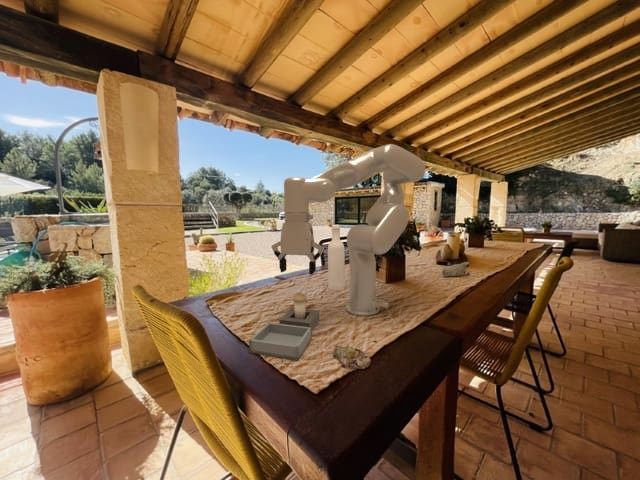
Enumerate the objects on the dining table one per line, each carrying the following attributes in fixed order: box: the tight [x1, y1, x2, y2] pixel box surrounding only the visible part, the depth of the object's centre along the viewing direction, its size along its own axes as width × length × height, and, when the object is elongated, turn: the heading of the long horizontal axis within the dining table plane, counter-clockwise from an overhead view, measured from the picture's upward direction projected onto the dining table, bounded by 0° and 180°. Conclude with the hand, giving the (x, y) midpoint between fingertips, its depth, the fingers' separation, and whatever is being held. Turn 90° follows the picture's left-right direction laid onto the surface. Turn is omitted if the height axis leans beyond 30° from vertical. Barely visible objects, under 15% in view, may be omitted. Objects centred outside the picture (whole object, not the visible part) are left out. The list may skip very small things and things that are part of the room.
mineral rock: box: [332, 345, 372, 371], centre depth 65 cm, size 11×4×8 cm
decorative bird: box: [441, 261, 471, 278], centre depth 138 cm, size 5×16×8 cm, turn 106°
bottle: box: [327, 224, 346, 292], centre depth 120 cm, size 8×8×30 cm
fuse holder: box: [278, 307, 320, 331], centre depth 84 cm, size 10×10×4 cm
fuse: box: [292, 293, 307, 319], centre depth 84 cm, size 4×4×10 cm
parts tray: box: [248, 322, 313, 361], centre depth 72 cm, size 14×11×4 cm
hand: (297, 272), depth 82 cm, fingers open, 9 cm apart
